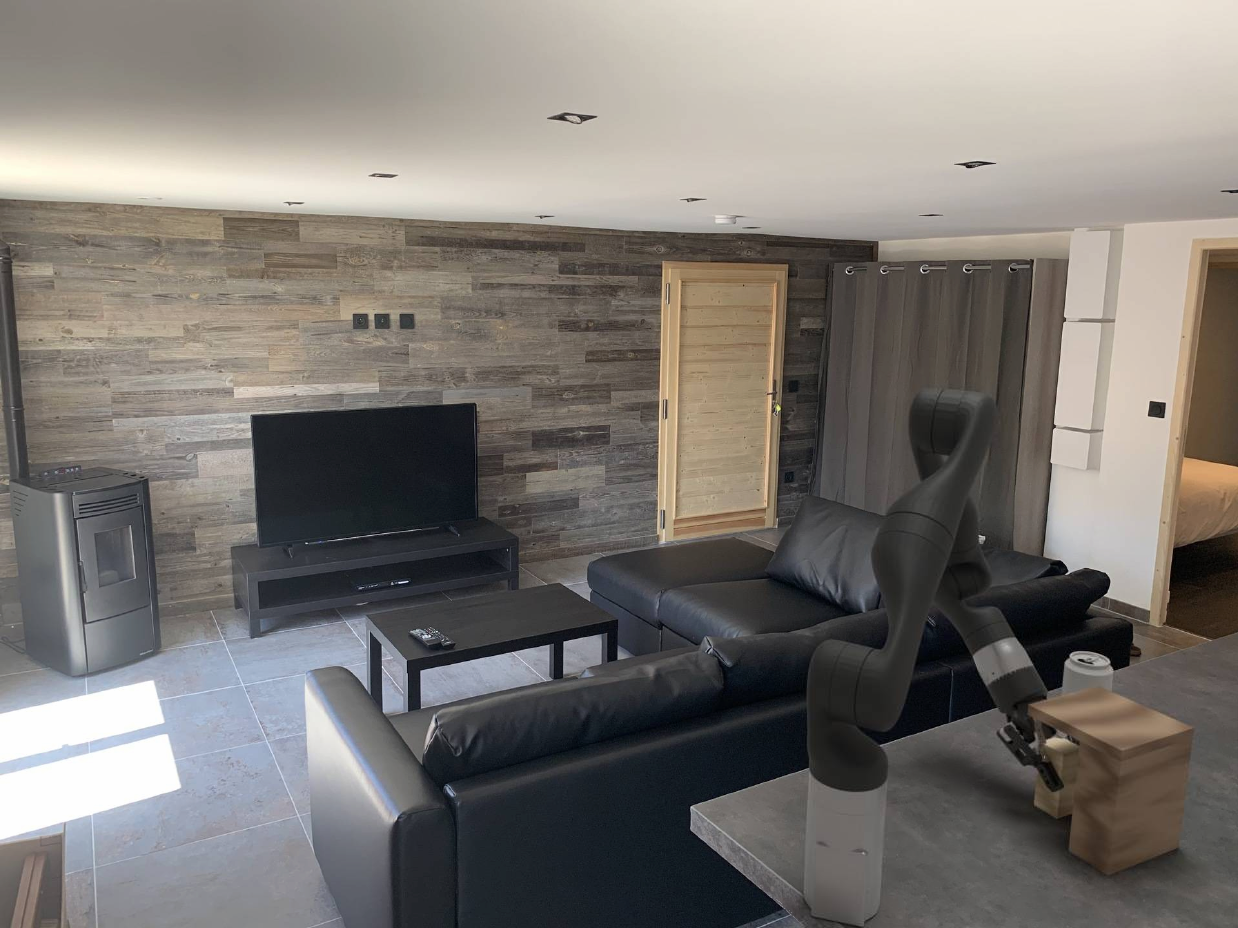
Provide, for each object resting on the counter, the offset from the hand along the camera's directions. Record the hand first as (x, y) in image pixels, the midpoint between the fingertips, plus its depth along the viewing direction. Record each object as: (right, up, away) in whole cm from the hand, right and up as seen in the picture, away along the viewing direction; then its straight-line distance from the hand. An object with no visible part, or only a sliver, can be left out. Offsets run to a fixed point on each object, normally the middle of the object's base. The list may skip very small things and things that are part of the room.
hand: (1069, 785), depth 138 cm
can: (+16, +1, +29) cm, 33 cm away
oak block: (-1, -4, +3) cm, 5 cm away
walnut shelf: (+2, -5, -3) cm, 7 cm away
